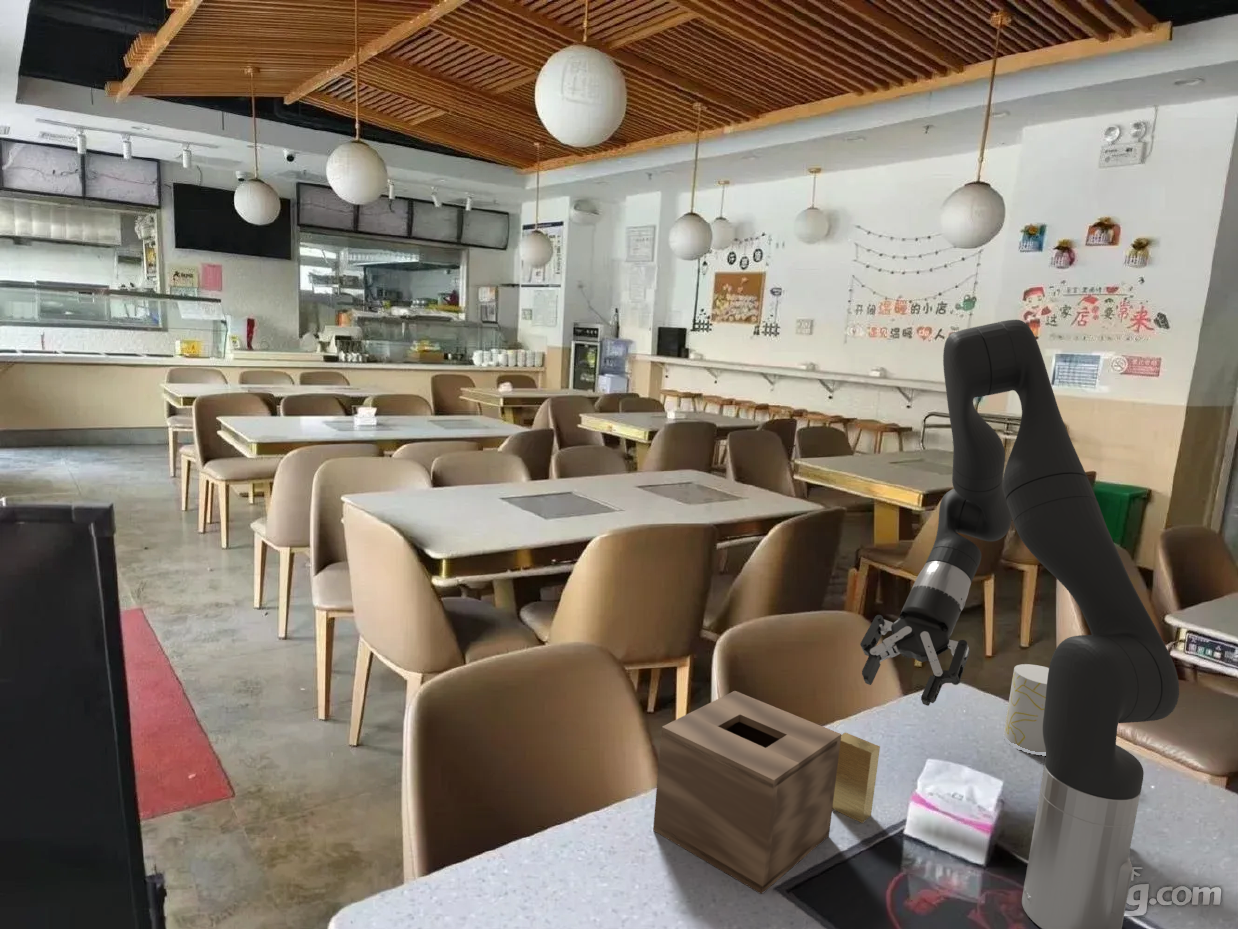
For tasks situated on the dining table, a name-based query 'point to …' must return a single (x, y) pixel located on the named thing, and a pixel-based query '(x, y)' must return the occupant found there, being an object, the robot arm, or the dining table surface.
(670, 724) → the box
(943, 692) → the dining table surface
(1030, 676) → the cup
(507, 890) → the dining table surface
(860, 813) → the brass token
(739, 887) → the dining table surface
